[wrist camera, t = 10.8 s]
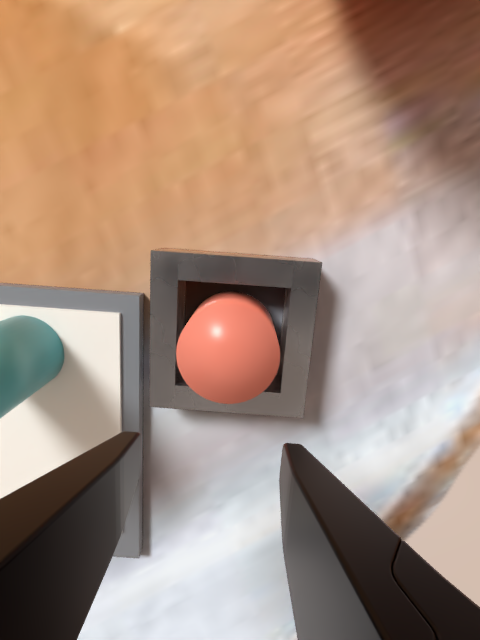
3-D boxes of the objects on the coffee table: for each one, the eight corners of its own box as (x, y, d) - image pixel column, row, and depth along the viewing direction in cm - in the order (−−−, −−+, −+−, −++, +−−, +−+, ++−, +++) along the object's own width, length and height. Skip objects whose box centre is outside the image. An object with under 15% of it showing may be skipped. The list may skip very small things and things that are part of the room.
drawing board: (142, 547, 24) (137, 562, 23) (-99, 529, 24) (-115, 543, 23) (143, 293, 20) (137, 296, 19) (-147, 272, 20) (-169, 274, 19)
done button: (270, 375, 19) (275, 407, 16) (188, 369, 19) (174, 400, 16) (278, 294, 18) (285, 309, 15) (191, 287, 18) (177, 301, 15)
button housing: (297, 397, 21) (303, 417, 19) (160, 387, 21) (149, 406, 19) (313, 258, 19) (322, 262, 17) (162, 248, 19) (150, 250, 17)
